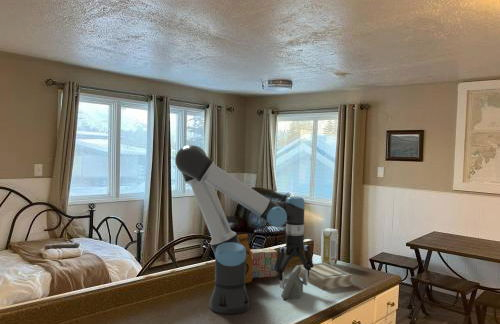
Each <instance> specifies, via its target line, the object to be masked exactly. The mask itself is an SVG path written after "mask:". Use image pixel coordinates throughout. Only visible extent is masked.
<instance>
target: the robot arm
mask: <svg viewBox="0 0 500 324" xmlns="http://www.w3.org/2000/svg"><path fill="white" fill-rule="evenodd" d="M174 162H175V166H176V168H177V169H178V170H179V172H180V173H181V174H182V177H183V179H184V182H185V183H186V184H188V185H190V187H191V189H192V192H193V194H194V196H195V199H196V203H197V205H198V206H199V207H198V208H199V209H200V211H201V214H202V217H203V219H204V221H205V225H206V227H207V230H208V232H209V235H210V237H211V240H210V244H209V245H210V247H211V250H212V251H213V254H214V257H215V258H214V259H215V262H214V264H215V265H214V287H213V291H212V294H211V296H210V299H209V309H210V310H211V311H213V312H215V313H218V314H224V315H235V314H241V313H242V314H243V313H245V312H246V311H248V310H249V309H250V299H249V295H248V293H247V292H248V291H247V288H246V283H245V269H246V249H245V247H244V246H243V245H241V244H240V242H239V239H238V237H237V235H238V234H237V232H236V231H233V230H232V229H231V227H230V224H229V221H228V219H227V217H226V213H225V211H224V209H223V206H222V204H221V201H220V199H219V196H218V194H217V191H219V192H220V193H222V194H223V195H225V196H226V197H227V198H229V199H231V200H233V201H234V202H236V203H237V204H239V205H241V206H242V207H244V208H246V209H247V210H248V211H251V212H252V213H253V214H255V215H257V218H258V219H259V220H261V221H263V220H264V221H266V222H267V223H268V224H269V225H270V226H272V227H274V228H279V227H282V226H283V225H285V226H286V227H285V246H284V247H282V246H280V247H278V253H277V261H276V264H275V268H274V270H275V271H277V273H278V275H277V276H278V281H279V288H281V289H282V290H284V287H285V285H286V283H285V279H286V276H285V275H286V273H285V269H286V267H287V265H288V264H289V263H290V260H292V258H293V257H298V258H299V260H300V262H301V265H303V266H304V268H305V269H303V279H302V281H303V286H305V287H307V286H308V283H309V282H308V277H309V270H311V268H313V267H314V266H313V264H314V263H313V259H312V255H311V251H310V250H311V249H310V248H311V246H310V245H308V244H304V242H305V241H304V240H305V238H304V237H305V236H304V235H305V209H306V208H305V198H303V197H301V196H287V198H286V200H285V201H272V200H271V199H269V198H267V197H266V196H265V195H262V193H259V192H258V191H257V190H255V189H253V188H252V187H250V186H249V185H247V184H245V183H244V182H242V181H241V180H239V179H238V178H237V177H235V176H233V175H231V174H230V173H228V172H227V171H225V170H224V169H222V168H220V167H219V166H217V165H216V163H215V161H214V160H213V159H211V158H210V157H209V156H207V154H206V151H204V149H202V147H200V146H198V145H185V146H183V147H181V148H180V149H179V150H178V151H177V153H176V154H175V160H174ZM216 190H217V191H216ZM303 251H304V253H303Z"/></svg>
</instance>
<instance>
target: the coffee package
mask: <svg viewBox="0 0 500 324" xmlns="http://www.w3.org/2000/svg"><path fill="white" fill-rule="evenodd" d="M237 237H238V239H239V242H240V244H241V245H243V246H244V247H245V249H246V269H245V284H249V283H252V281H253V278H252V261H253V260H252V254H251V250H252V249H251V248H250V244H249V242H248V238H249V235H248V233H245V234H244V233H243V234H237Z"/></svg>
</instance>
